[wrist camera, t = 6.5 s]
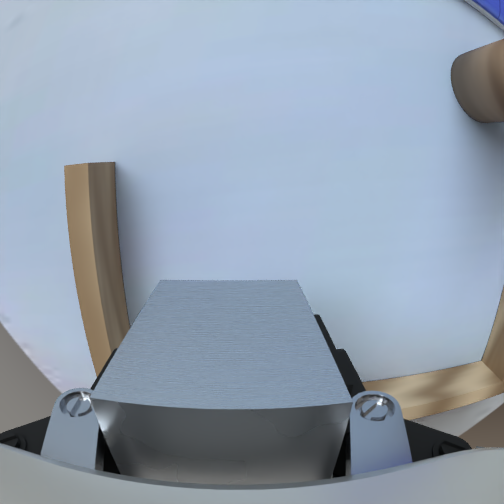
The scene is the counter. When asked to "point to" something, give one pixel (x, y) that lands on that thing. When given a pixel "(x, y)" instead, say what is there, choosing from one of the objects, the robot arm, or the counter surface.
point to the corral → (117, 323)
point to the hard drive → (490, 10)
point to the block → (224, 387)
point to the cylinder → (481, 82)
